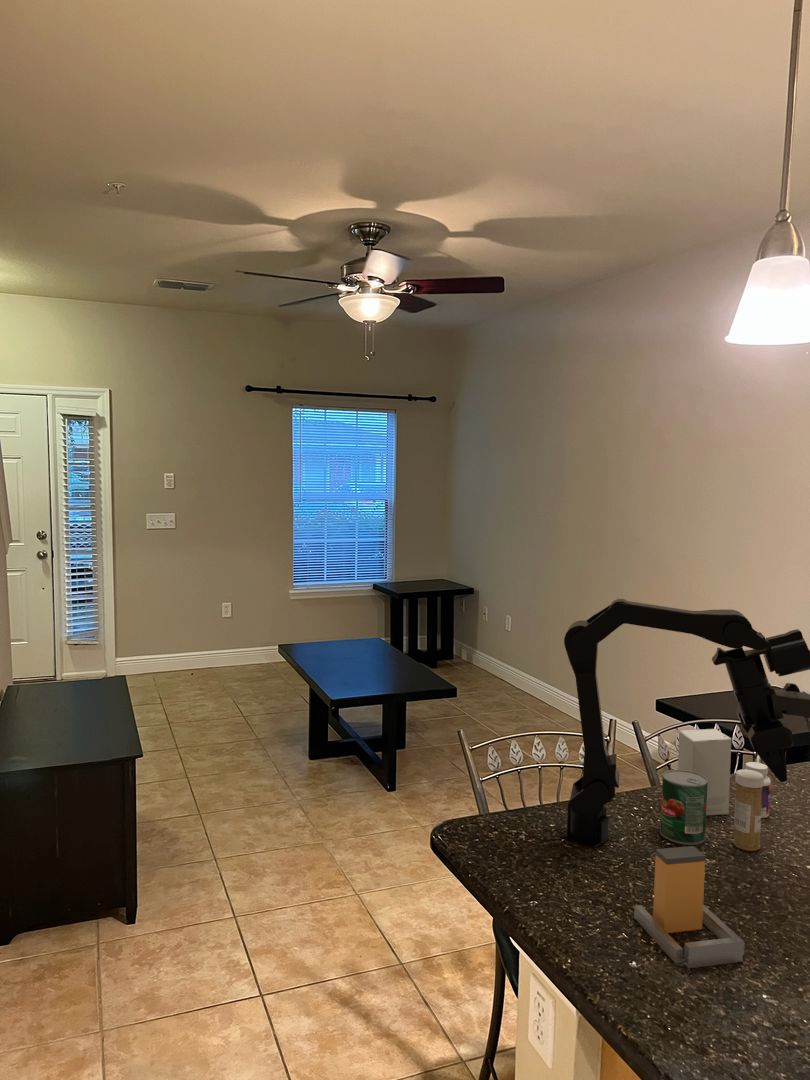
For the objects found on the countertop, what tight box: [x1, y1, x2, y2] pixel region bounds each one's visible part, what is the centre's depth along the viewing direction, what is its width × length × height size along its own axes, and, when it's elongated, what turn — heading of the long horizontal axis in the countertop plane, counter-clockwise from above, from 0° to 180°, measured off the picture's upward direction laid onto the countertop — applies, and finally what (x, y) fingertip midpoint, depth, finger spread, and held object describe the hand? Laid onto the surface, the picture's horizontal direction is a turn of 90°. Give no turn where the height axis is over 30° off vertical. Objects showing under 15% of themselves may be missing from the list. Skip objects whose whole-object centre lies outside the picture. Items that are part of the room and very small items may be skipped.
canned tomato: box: [659, 769, 708, 846], centre depth 141 cm, size 8×8×11 cm
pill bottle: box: [744, 761, 772, 819], centre depth 151 cm, size 5×5×10 cm
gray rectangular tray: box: [633, 904, 746, 969], centre depth 108 cm, size 16×10×4 cm, turn 12°
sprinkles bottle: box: [732, 768, 764, 852], centre depth 137 cm, size 5×5×14 cm
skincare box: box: [677, 728, 733, 817], centre depth 152 cm, size 8×7×16 cm
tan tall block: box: [652, 845, 706, 934], centre depth 109 cm, size 3×6×11 cm, turn 102°
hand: (778, 771), depth 129 cm, fingers open, 9 cm apart
